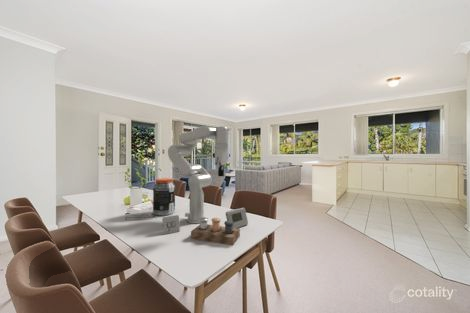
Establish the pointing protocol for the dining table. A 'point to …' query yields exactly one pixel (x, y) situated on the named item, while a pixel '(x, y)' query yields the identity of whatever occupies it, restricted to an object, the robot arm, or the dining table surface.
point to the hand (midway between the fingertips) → (221, 176)
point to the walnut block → (215, 235)
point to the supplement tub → (164, 197)
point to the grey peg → (203, 223)
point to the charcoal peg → (228, 227)
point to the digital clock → (237, 217)
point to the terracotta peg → (215, 224)
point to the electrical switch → (171, 224)
